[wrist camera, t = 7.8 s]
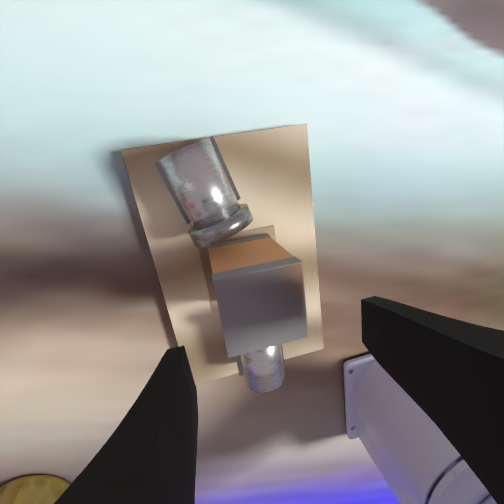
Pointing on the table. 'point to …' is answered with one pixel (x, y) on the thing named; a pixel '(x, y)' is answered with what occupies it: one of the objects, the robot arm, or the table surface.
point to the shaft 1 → (204, 192)
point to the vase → (33, 490)
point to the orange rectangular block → (258, 293)
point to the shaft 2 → (262, 368)
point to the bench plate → (197, 258)
